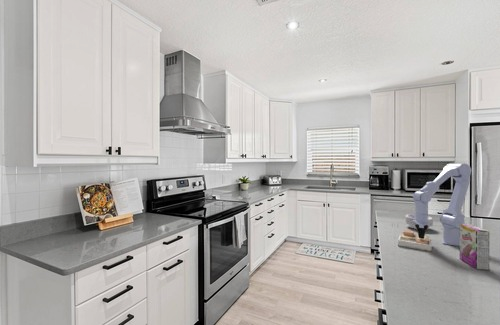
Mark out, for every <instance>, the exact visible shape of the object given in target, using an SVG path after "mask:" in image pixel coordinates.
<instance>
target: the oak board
mask: <svg viewBox="0 0 500 325" xmlns="http://www.w3.org/2000/svg"><path fill="white" fill-rule="evenodd" d="M403 232H404V231H402V232H401V234H400V235H401V238H402V239H408V240H414V241H416V239H421V238H419V236H418V233H414V237H412V236H405V235H403ZM429 239H430V235H425V236H424V239H423V240H427V242H428V243H429Z"/></svg>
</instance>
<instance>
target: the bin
mask: <svg viewBox="0 0 500 325" xmlns="http://www.w3.org/2000/svg"><path fill="white" fill-rule="evenodd" d="M401 235H402V234H399V236H398V239H397V246H398V247H404V248H409V249H414V250H421V251H425V250H427V252H432V247H433V246H432V239H430V238H429V243H428V245H427V244H421V243H416V241H414V240H408V239H402V238H401Z"/></svg>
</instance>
